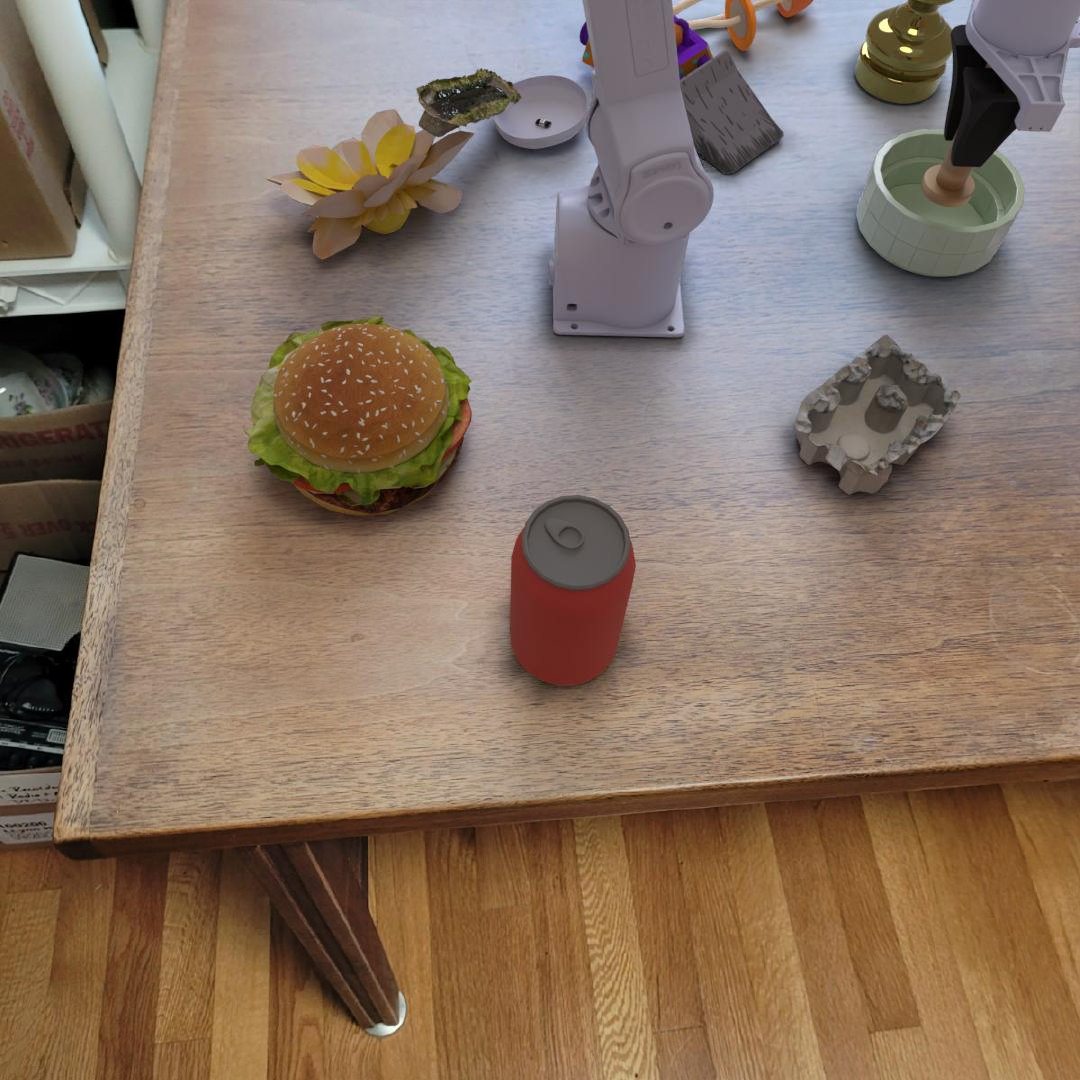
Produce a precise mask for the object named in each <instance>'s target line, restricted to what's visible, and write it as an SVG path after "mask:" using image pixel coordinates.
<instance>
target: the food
mask: <svg viewBox="0 0 1080 1080" xmlns="http://www.w3.org/2000/svg"><path fill="white" fill-rule="evenodd" d="M384 319H385V318H384V316H382V315H381V316H377V317H372V318H360V319H356V320H329V321H328V320H327V321H326V322H323V323H322V325H321V327H320V328H319V329H318V331H315V330H312V329H311V330H310V331H309V332H307V333H306V334H303V333H301V332H298V331H297V330H296V331H294V332H292V333H290V334H289V335H288V337H287V338H286V339H285V341H283V342H281V343H280V344H279V345H278V346H277V348H276V349H275V351H274V352H273V353H272V355H271V356H270V361H269V364H268V367H267V370H266V371H265V372H264V373H263V374H261V376H260V381H259V383H258V386H257V389H256V390H255V392H254V395H253V398H252V403H251V407H250V416H251V421H252V426H251V428H249V429H246V430H243V431H244V432H245V434H247V436H248V438H249V439H248V441H247V448H248V451H249V452H250V454H253V455H257V456H258V457H259V458H258V459H255V460H254V463H253V465H254V466H255V467H261V466H265V465H266V467H267V468H268V469H269V471H270V473H271V474H272V475H273V476H275V477H276V478H277V479H278V480H280V481H283V482H287V483H291V484H292V485H293V486H294V487H295V488H296V489H297V491H299V492H300V493H301V494H302V495H303V496H305V497H306V498H307V499H310V500H311V501H312V502H314V503H315V504H317V505H318V506H320V507H322V508H324V509H326V510H328V511H331V512H335V513H336V512H337V513H341V514H348V515H351V516H352V515H353V516H358V517H363V516H377V515H388V514H391V513H393V512H396V511H398V510H400V509H402V508H404V507H407V506H409V505H411V504H414V503H416V502H418V501H420V500H421V499H424V498H426V497H427V496H428V495H429V494H430V493H431V492H432V491H433V490H434V489H435V488H436V486H438V485H439V484H441V483H442V482H443V481H444V480H445V479H446V478H447V476H448V475H449V473H450V472H451V470H452V469H453V468H454V466H455V465H456V463H457V462H458V459H459V456H460V452H461V449H462V446H463V443H464V440H465V435H466V433H467V431H468V428H469V426H470V425H471V422H472V416H473V411H472V408H471V405H470V401H469V398H468V396H469V393H470V390H471V386H470V384H471V383H472V382H473V381H472V379H471V378H470V377H469V376H468V375H467V374H466V373H465V372H464V371H463V370H462V369H461V368H460V367H459V366H457V363H456V362H455V359H454V357H453V355H452V353H451V351H450V350H448V349H447V348H446V347H444V346H438V345H437V346H434V345H432V344H431V343H430V341H429V340H428V339H425V338H421V337H418V336H417V335H416V334H415V333H414V331H412V329H411V328H408V329H403V330H401V329H398V328H394V327H392V326H390V325H389V324H388V323H387V322H386V321H384Z"/></svg>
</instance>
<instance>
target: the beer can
mask: <svg viewBox="0 0 1080 1080" xmlns="http://www.w3.org/2000/svg"><path fill="white" fill-rule="evenodd" d="M636 568H637V564H636V558H635V552H634V546H633V542H632V540H631V536H630V531H629V528H628V527H627V524H626V523H625V521H624V519H623V517H622V516H621V515H620V514H619V513H618V511H616V510H615V509H613V507H612V506H611V505H609V504H607V503H605V502H603V501H602V500H600V499H597V498H595V497H591V496H586V495H582V494H581V495H580V494H572V495H561V496H558V497H555V498H552V499H549V500H546V501H545V502H543V503H542V504H540V506H538V507H537V508H535V509H534V510H533V511H532V513H531V515H530V516H529V517H528V519H527V520H526V521H525V523H524V526H523V528H522V529H521V531H519V534H518V535H517V537H516V539H515V542H514V546H513V549H512V553H511V557H510V593H509V594H510V599H509V600H510V601H509V638H510V639H509V640H510V647H511V649H512V651H513V654H514V656H515V658H516V660H517V662H518V663H519V664H520V665H521V667H523V668H524V670H525V671H526V672H527V673H528V674H530V675H531V676H533V677H535V678H537V679H539V680H540V681H542V682H543V683H548V684H553V685H557V686H561V687H562V686H573V685H574V686H575V685H581V684H583V683H587V682H588V681H590V680H593V679H595V678H597V677H598V676H599V675H600V674H601V673H603V672H604V671H605V670H606V669H607V668H608V667H609V666H610V664H611V662H612V661H613V659H614V657H615V656H616V654H617V649H618V646H619V642H620V638H621V633H622V631H623V630H622V629H623V625H624V620H625V617H626V612H627V608H628V603H629V600H630V595H631V592H632V587H633V582H634V578H635V573H636Z"/></svg>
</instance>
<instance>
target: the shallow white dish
mask: <svg viewBox="0 0 1080 1080" xmlns="http://www.w3.org/2000/svg"><path fill="white" fill-rule="evenodd" d="M512 85H513V88H515V89H516V90H517V93H518V92H519V94H520V96H521V99H520V101H519V102H518V103H516V104H514V103H513V102H510V103H509V104H508V106H507V107H506V109H505V110H504V111H503V112H502V113H501V114H499V115H497V116H492V117H493V122H494V125H495V127H496V129H497V131H498V133H499V134H500V136H501V137H502V138H503V139H504V140H505V141H506V142H508V143H509V144H511V145H513V146H515V147H519V148H523V149H530V150H538V149H544V148H549V147H554V146H556V145H559V144H562V143H565V142H567V141H569V140H570V139H572V138H573V137H575V136H576V135H577V134H578V133H579V132H581V130H582V128H583V127H584V126H585V125H586V117H587V112H588V110H589V106H588V98H587V95H586V93H585V91H584V90H583V88H582V86H580V85H579V84H578V83H577V82H576V81H574V80H572V79H570V78H567V77H564V76H560V75H539V76H534V77H528V78H524V79H522V80H519V81H517V82H514V83H513V84H512ZM501 92H502V93H503V91H501ZM511 93H512V92H511ZM503 94H504V93H503ZM504 95H505V94H504Z"/></svg>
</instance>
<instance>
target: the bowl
mask: <svg viewBox="0 0 1080 1080" xmlns="http://www.w3.org/2000/svg"><path fill="white" fill-rule="evenodd" d="M951 143H952V141H945V137H944V129H936V128H935V129H934V128H933V129H931V128H920V129H916V130H912V131H907V132H903V133H900V134H898V135H897V136H895V137H893V138H892V139H889V140H887V141H886V142H885V143H884V144H883V146H882V147H881V148H880V149H879V150H878V151H877V152H876V154H875V157H874V160H873V162H872V165H871V166H870V170H869V172H868V175H867V178H866V180H865V183H864V185H863V188H862V191H861V193H860V196H859V199H858V203H857V207H856V211H855V216H856V219H857V225H858V229H859V232H860V233H861V234H862V236H863V237H864V239H865V240H866V242H867V244H868V245H869V246H870V247H871V248H872V249H873V250H874V252H875V253H877V255H879V256H880V257H881V258H882V259H884V260H885V261H887V262H888V263H890V264H891V265H894V266H895V267H897V268H900V269H901V270H904V271H907V272H909V273H912V274H916V275H920V276H926V277H936V278H943V277H944V278H945V277H946V278H947V277H956V276H960V275H965V274H969V273H974V272H976V271H977V270H979V269H980V268H982V267H984V266H985V265H987V264H989V263H990V262H991V261H992V259H993V258H994V257H995V255H996V254H997V252H998V251H999V249H1000V247H1001V246H1002V244H1003V243H1004V240H1005V239H1006V236H1007V235H1008V233H1009V231H1010V230H1011V228H1012V226H1013V224H1014V222H1015V221H1016V219H1017V217H1018V215H1019V213H1020V212H1021V210H1022V208H1023V206H1024V201H1025V194H1026V189H1025V186H1024V185H1025V184H1024V183H1023V179H1022V176H1021V173H1020V172H1019V171H1018V169H1017V168H1016V166H1015V165H1014V164H1013V163H1012V161H1011V160H1010V159H1009V158H1008V157H1007V156H1006V155H1005V154H1003V153H1002V152H1000V151H999V150H998V149H997V150H996V151H995V152H994V153H993V154H992V155H991V157H990V158H989V159H988V160H987V161H986V162H985V163H984V164H983V165H982V166H981V167H973V168H972V170H971V172H970V175H971V176H972V178H973V179H974V182H975V190H974V192H973V194H972V197H971V199H970V200H969V201H968V202H967V203H966V204H964V205H962V206H958V207H945V206H941V205H938V204H935V203H933V202H932V201H930V200H929V199H928V198H927V197H926V196H925V195H924V194H923V192H922V189H921V182H922V179H923V177H924V175H925V173H926V171H927V170H928V169H929V168H931V167H933V166H936V165H941V164H942V163H943V160H944V158H945V156H946V154H947V151H948V149H949V147H950V145H951Z"/></svg>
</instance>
